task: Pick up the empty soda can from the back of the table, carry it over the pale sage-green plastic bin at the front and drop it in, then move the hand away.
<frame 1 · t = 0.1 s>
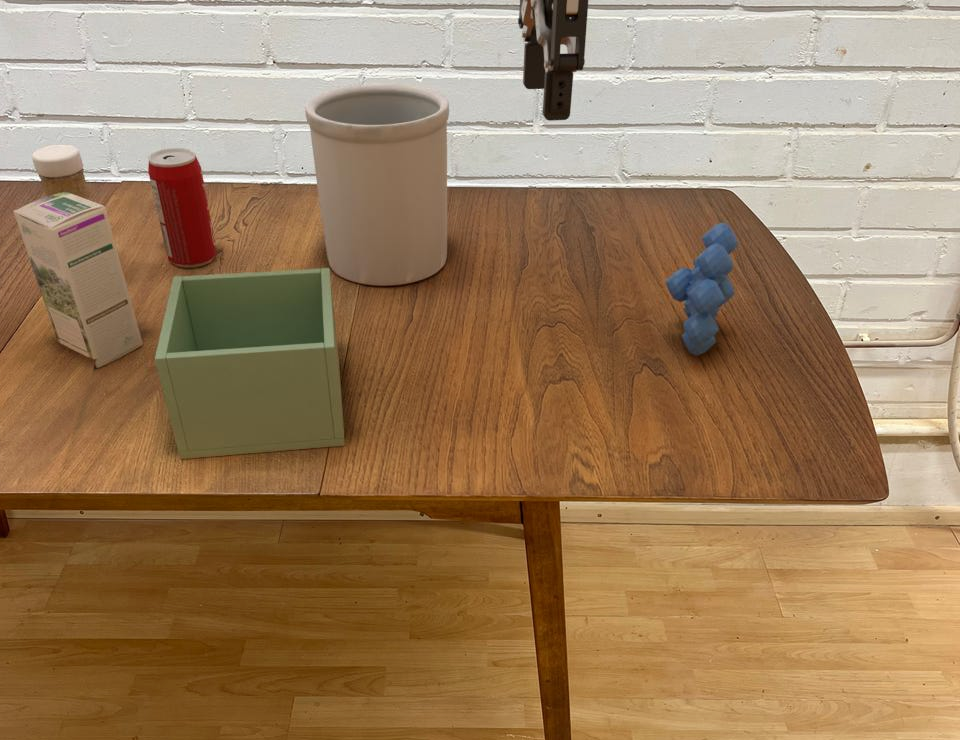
hand: (545, 102, 78), 22 cm above the table, tool pointing down, fingers open, 8 cm apart
utensil holder: (386, 260, 103), on the table
bin: (265, 406, 80), on the table
sprinkles bottle: (90, 273, 99), on the table
grapes: (689, 342, 90), on the table
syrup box: (102, 350, 87), on the table
soda can: (193, 259, 102), on the table
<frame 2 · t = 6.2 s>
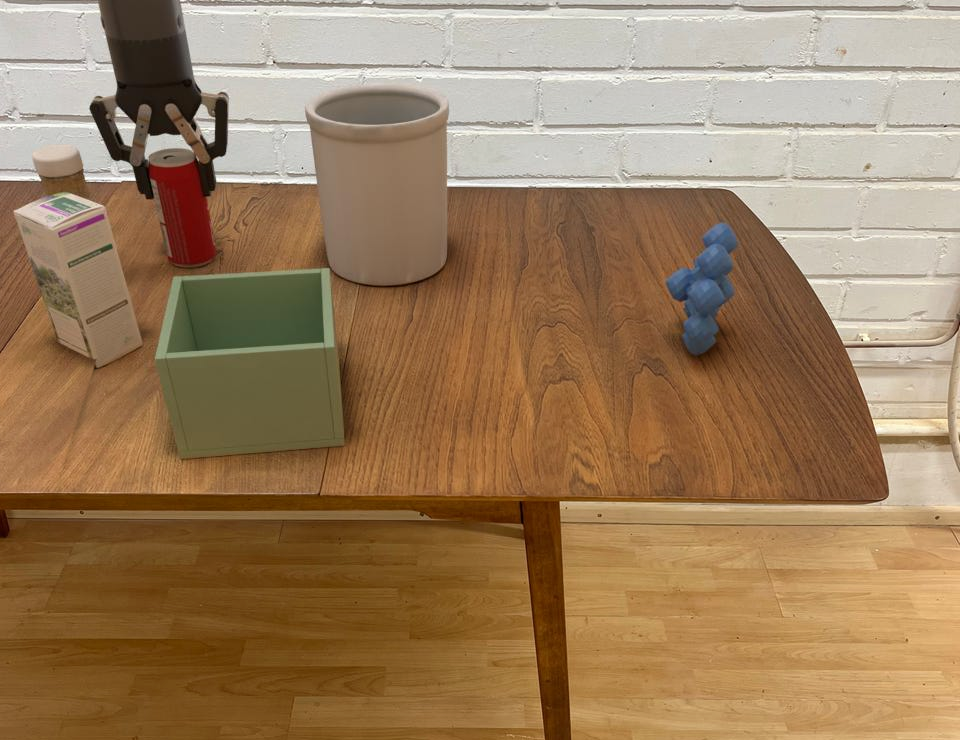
hand: (179, 194, 97), 8 cm above the table, tool pointing down, fingers closed on soda can, 5 cm apart
soda can: (192, 259, 102), on the table, touching gripper
everything else where it was.
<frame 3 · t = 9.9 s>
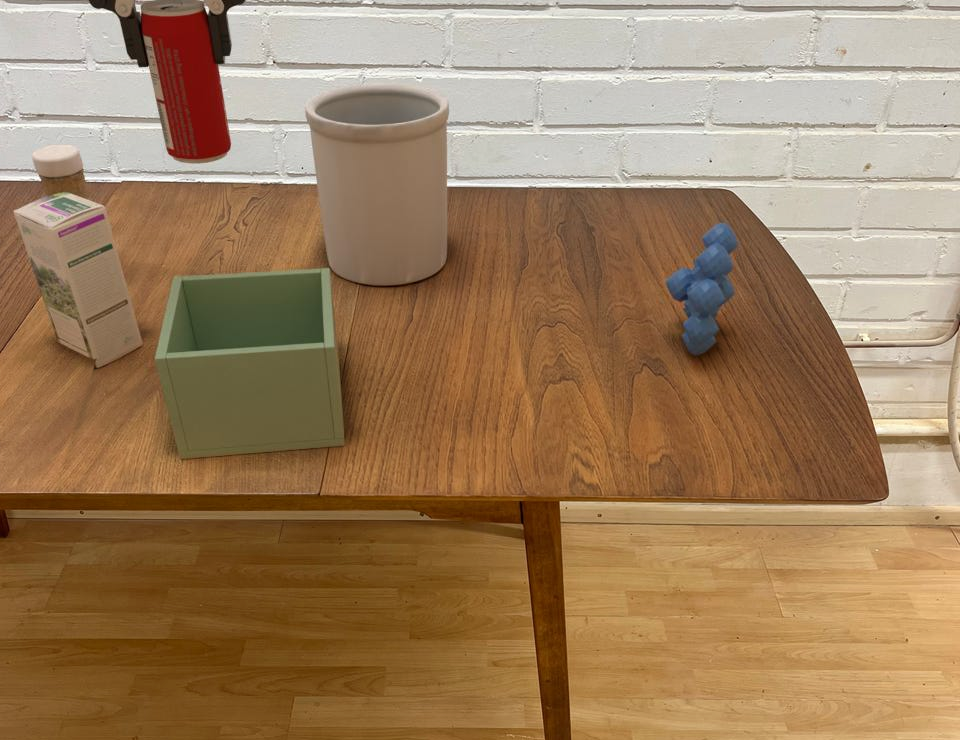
hand: (182, 62, 73), 26 cm above the table, tool pointing down, fingers closed on soda can, 5 cm apart
soda can: (200, 155, 78), point 18 cm above the table, touching gripper
everything else where it was.
when the fingers open (15 cm above the table, at t = 14.0 s): soda can drops 7 cm, resting on bin.
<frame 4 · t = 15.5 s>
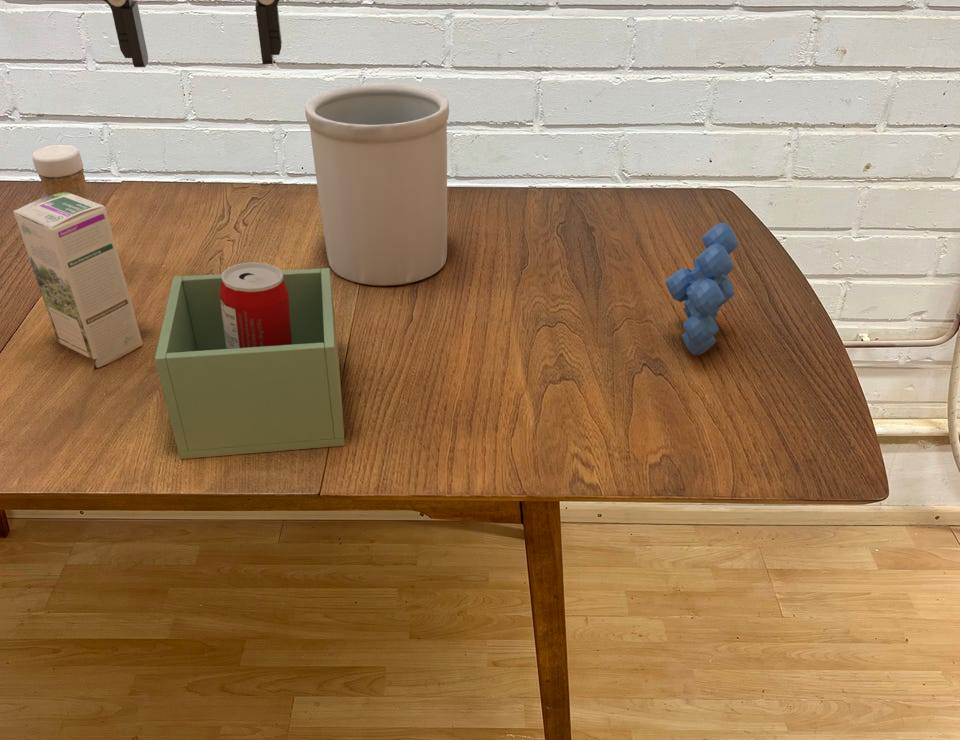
hand: (205, 63, 61), 29 cm above the table, tool pointing down, fingers open, 8 cm apart
soda can: (264, 398, 80), point 1 cm above the table, touching bin
everything else where it was.
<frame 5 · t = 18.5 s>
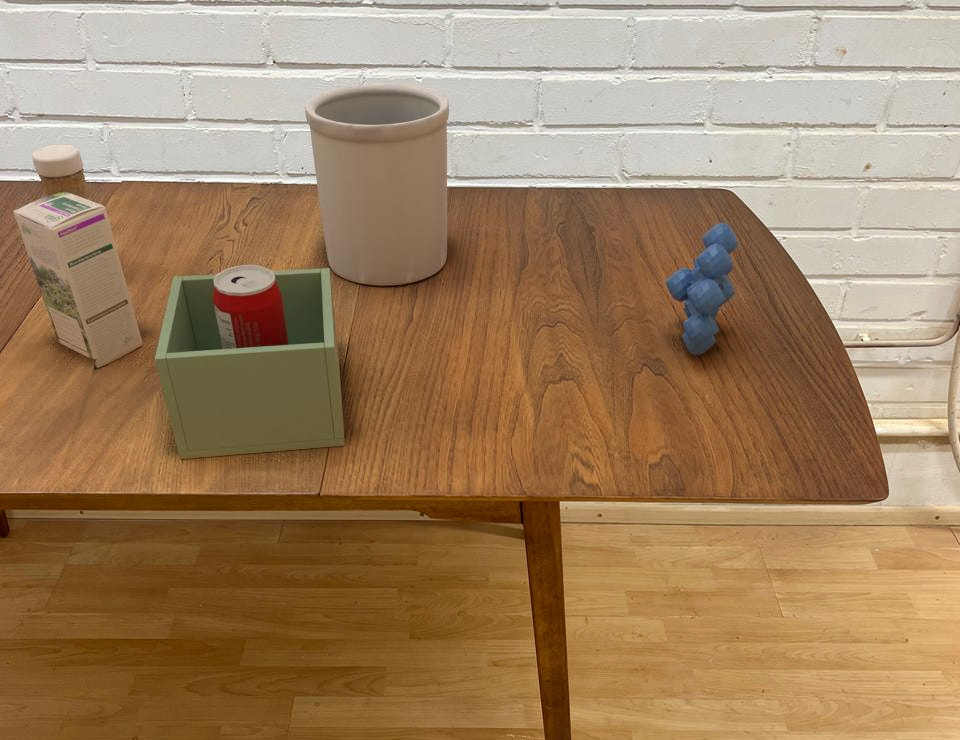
nothing on the table moved.
at the end: soda can inside the target area in the bin (0.1 cm from its centre), point 0.6 cm above the bin's base; the gripper is holding nothing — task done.
